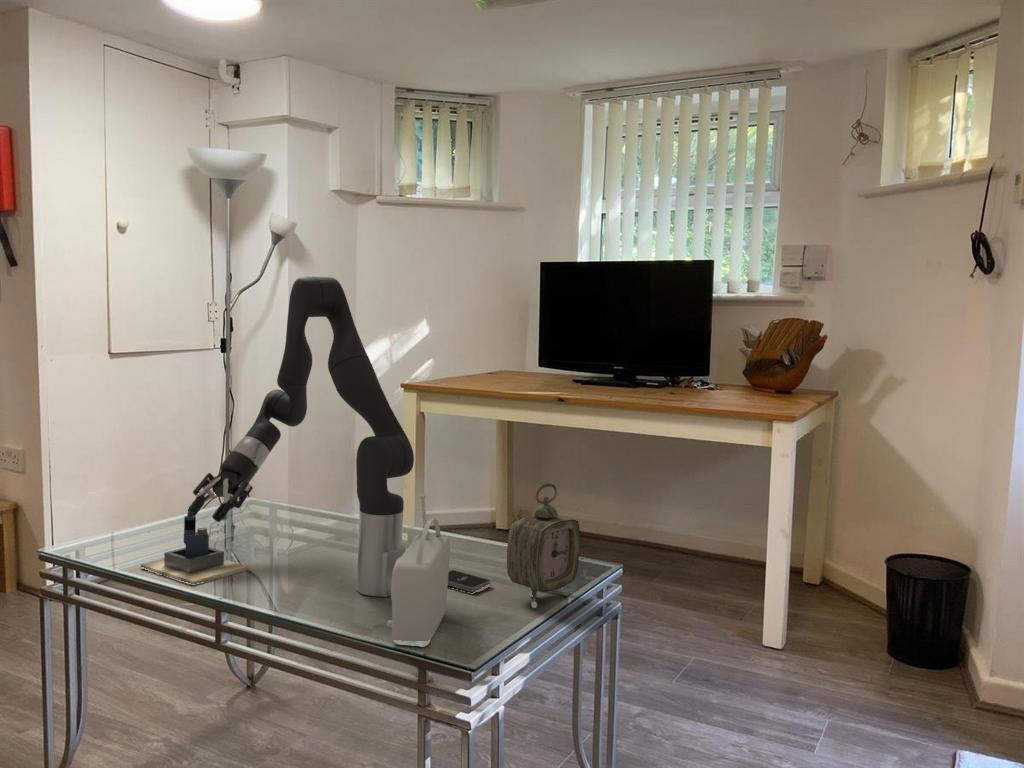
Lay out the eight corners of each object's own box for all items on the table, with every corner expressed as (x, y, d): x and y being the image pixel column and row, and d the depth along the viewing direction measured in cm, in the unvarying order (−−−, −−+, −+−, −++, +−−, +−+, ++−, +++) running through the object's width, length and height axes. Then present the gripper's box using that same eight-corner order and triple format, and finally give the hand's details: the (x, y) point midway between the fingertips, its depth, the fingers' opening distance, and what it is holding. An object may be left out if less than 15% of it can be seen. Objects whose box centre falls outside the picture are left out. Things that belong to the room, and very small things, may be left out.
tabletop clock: (534, 613, 160) (541, 491, 158) (501, 602, 166) (506, 483, 164) (577, 597, 171) (583, 482, 169) (544, 586, 177) (549, 476, 175)
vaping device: (182, 564, 177) (183, 511, 177) (208, 562, 180) (209, 510, 179) (183, 567, 175) (184, 514, 174) (208, 565, 177) (209, 512, 176)
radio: (408, 607, 160) (412, 485, 159) (448, 610, 160) (453, 487, 158) (380, 650, 139) (385, 509, 137) (426, 654, 138) (432, 513, 136)
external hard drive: (472, 597, 170) (472, 588, 169) (432, 585, 176) (432, 576, 176) (491, 589, 175) (491, 580, 175) (452, 578, 181) (452, 569, 181)
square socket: (223, 564, 179) (223, 551, 178) (189, 574, 171) (189, 560, 171) (198, 557, 183) (198, 544, 183) (164, 565, 176) (164, 552, 176)
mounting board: (246, 570, 178) (246, 566, 178) (192, 586, 167) (192, 581, 167) (195, 555, 188) (195, 550, 188) (140, 568, 176) (140, 564, 176)
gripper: (216, 446, 188) (172, 502, 179) (257, 453, 181) (214, 512, 172) (234, 466, 193) (192, 521, 184) (275, 473, 186) (233, 531, 177)
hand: (203, 516), depth 178 cm, fingers open, 8 cm apart
